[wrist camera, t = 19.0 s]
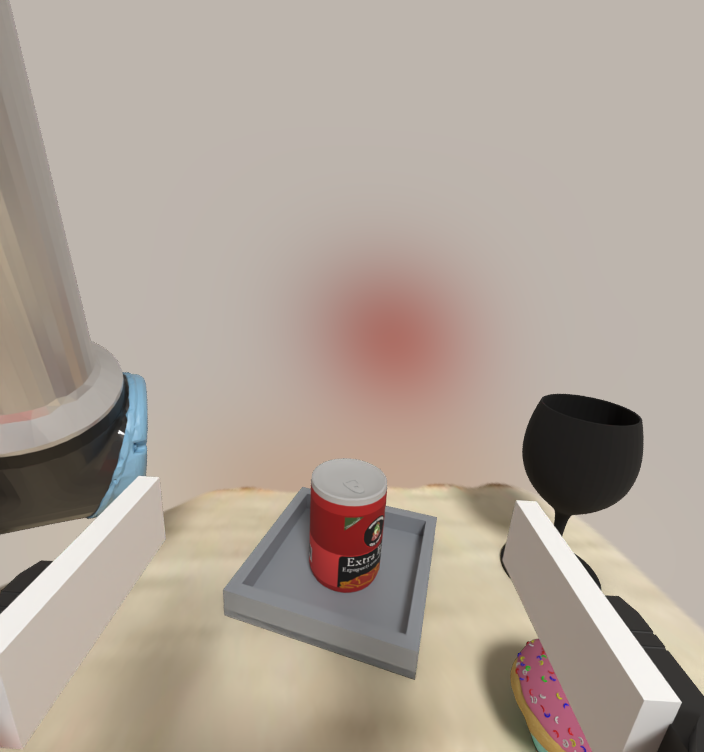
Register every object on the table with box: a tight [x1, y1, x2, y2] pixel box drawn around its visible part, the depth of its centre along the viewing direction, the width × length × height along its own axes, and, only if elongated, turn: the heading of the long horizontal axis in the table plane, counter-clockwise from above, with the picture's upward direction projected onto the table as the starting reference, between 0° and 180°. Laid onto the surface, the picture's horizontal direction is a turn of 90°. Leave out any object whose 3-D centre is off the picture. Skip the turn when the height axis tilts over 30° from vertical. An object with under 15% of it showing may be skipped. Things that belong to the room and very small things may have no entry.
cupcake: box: [510, 639, 592, 752], centre depth 26 cm, size 9×8×12 cm
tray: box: [223, 487, 437, 680], centre depth 42 cm, size 18×18×3 cm
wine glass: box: [501, 394, 643, 590], centre depth 41 cm, size 10×10×20 cm
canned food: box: [309, 458, 387, 593], centre depth 40 cm, size 8×8×11 cm
